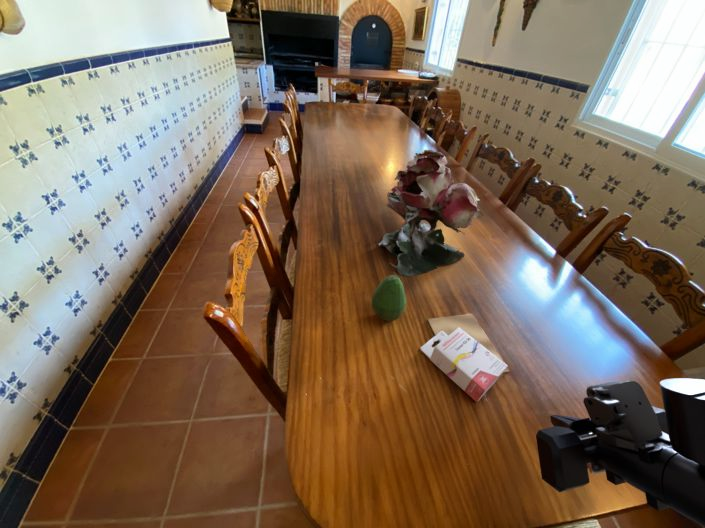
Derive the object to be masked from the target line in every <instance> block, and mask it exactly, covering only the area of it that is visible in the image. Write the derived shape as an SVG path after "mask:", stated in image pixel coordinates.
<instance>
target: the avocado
mask: <svg viewBox="0 0 705 528" xmlns="http://www.w3.org/2000/svg"><path fill="white" fill-rule="evenodd" d="M406 303H407V296H406V291H405V288H404V284H403V281H402V280H401V279H400V277H399V276H397V275H396V274H389V275H387V276H385V278H384V279H383V280H382V281H381V282H380V283H379V284H378V286H377V287H376V288H375V289H374V291H373V294H372V298H371V307H372V310H373V312H374V313H375V314H376V315H377V317H379V318H380V319H381V320H383V321H385V322H386V321H387V322H392V321H396V320H398V319H399V318H400V317H401V316H402V315H403V313H404V312H405V310H406V305H407V304H406Z"/></svg>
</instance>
